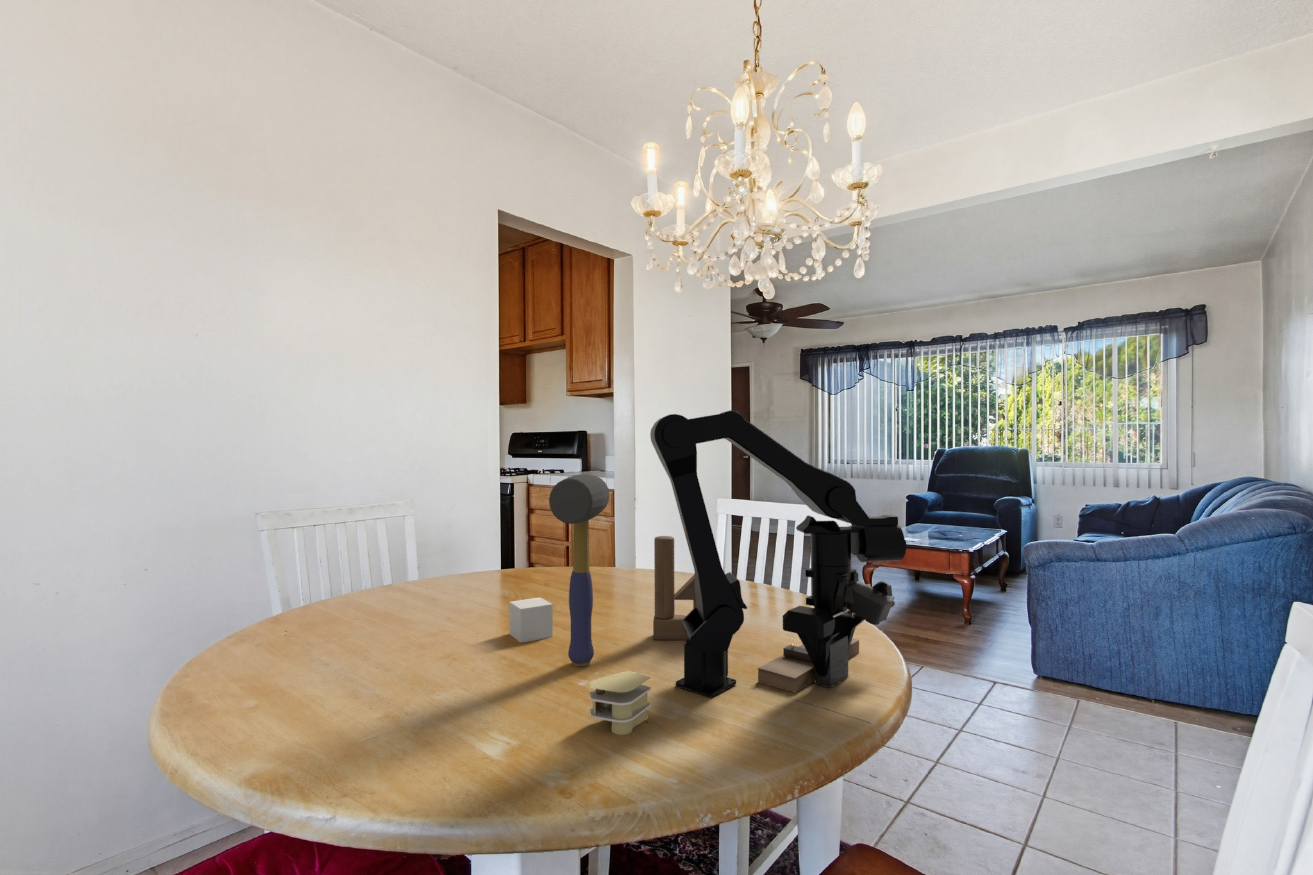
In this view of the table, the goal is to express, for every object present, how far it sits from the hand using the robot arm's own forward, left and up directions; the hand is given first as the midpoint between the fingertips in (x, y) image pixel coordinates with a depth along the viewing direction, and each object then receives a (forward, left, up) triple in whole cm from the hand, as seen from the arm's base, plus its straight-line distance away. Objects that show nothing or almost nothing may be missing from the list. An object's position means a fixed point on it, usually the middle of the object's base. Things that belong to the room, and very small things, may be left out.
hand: (831, 669), depth 90 cm
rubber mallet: (-20, +33, -2) cm, 38 cm away
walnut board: (+3, +5, -2) cm, 6 cm away
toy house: (-30, +14, -2) cm, 33 cm away
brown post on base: (+1, +29, -2) cm, 29 cm away
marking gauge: (0, +3, -2) cm, 3 cm away
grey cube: (-16, +51, -2) cm, 53 cm away
